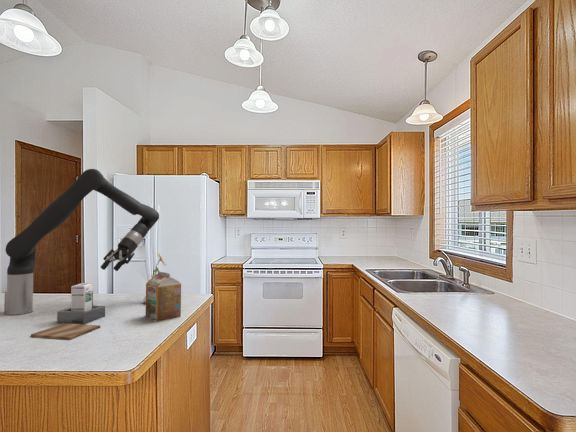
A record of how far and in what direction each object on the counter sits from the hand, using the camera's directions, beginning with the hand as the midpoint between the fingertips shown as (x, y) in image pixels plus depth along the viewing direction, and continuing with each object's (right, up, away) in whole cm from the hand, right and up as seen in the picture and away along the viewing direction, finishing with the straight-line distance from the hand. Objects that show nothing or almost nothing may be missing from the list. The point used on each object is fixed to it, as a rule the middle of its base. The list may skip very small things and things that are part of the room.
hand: (108, 269), depth 151 cm
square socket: (-5, -19, -11) cm, 23 cm away
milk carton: (+26, -20, -6) cm, 33 cm away
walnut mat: (-1, -19, -27) cm, 33 cm away
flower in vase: (+13, -20, +21) cm, 32 cm away
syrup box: (-5, -19, -11) cm, 23 cm away
